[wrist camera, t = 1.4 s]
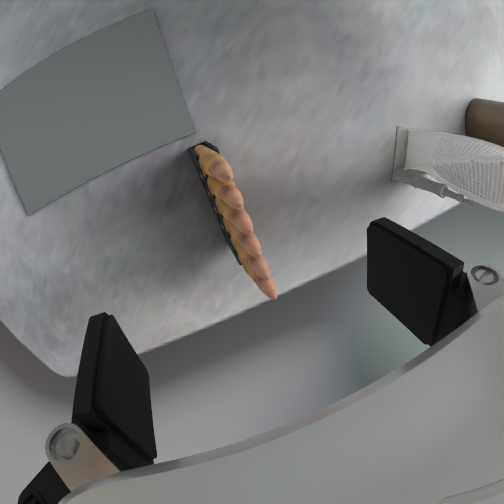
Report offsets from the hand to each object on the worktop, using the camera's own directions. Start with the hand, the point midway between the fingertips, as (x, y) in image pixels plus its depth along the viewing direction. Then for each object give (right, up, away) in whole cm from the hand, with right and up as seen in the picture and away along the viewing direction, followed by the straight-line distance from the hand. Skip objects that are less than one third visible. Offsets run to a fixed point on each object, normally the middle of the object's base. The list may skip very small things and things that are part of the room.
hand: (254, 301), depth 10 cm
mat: (-15, +14, +11) cm, 23 cm away
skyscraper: (+21, +15, +23) cm, 35 cm away
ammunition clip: (-3, +7, +18) cm, 20 cm away
